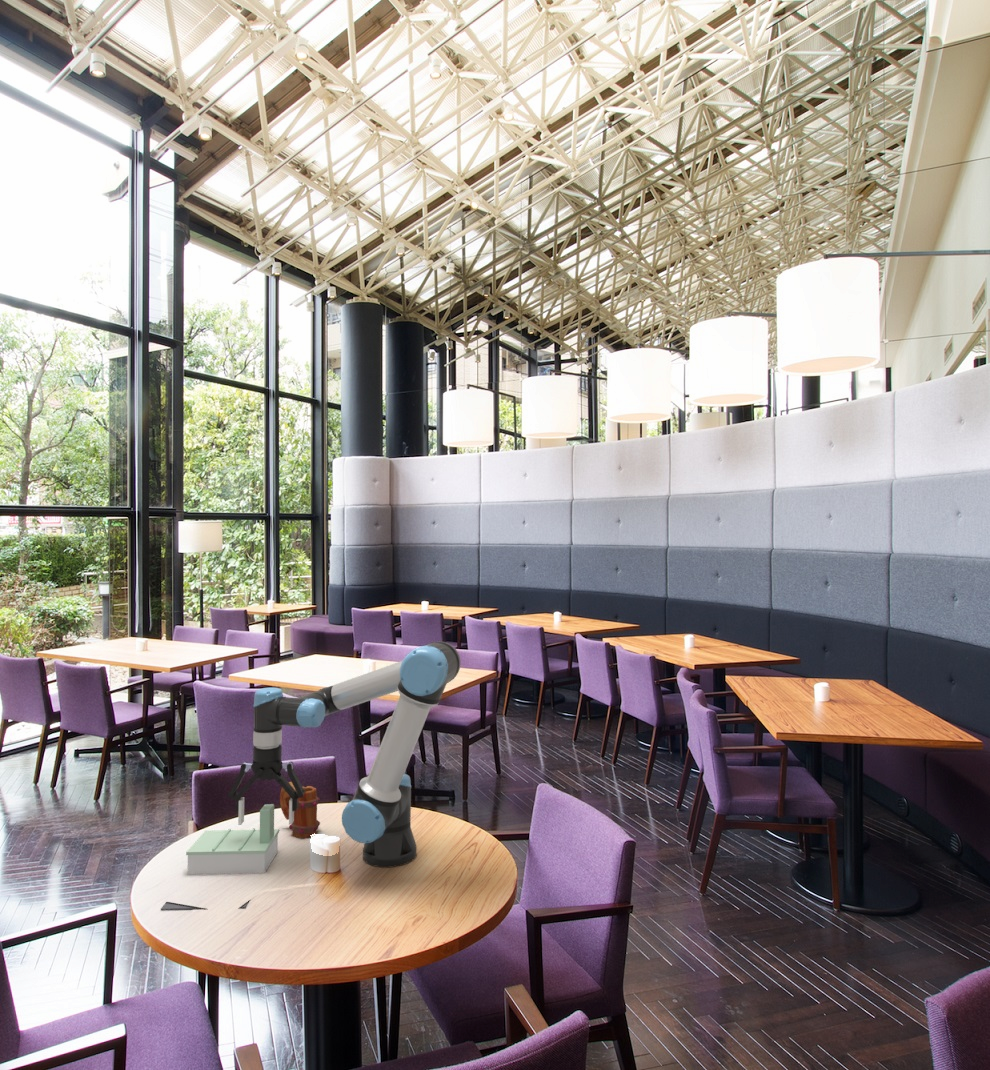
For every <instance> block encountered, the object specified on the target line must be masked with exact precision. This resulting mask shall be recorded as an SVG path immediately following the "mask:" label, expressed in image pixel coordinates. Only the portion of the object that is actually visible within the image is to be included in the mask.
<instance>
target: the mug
mask: <svg viewBox="0 0 990 1070" xmlns="http://www.w3.org/2000/svg"><path fill="white" fill-rule="evenodd" d="M288 782H289V784H290V785H291V786H292V787H293V788H294V785H293V783H292V781H288ZM302 787H303V789H304V791H305V794H304V795H303V797H302V798H298V808H297V810H296V811H294V821H293V823H292V824H291V825H289V826H288V828H289V829H290V830H291V832H292V836H293V837H296V838H298V839H299V838H300V839H302V838H303V839H306V838H307V839H308V838H311V837H310V835H312V834H314V833H316V834H317V832H318V829H319V826H321V822H320V821H319V820H318V813H317V812H318V804H319V802H320V800H321V799H320V797H318V796H317V795H318V794H317V788H316V787H314V786H311V785H307V786H306V787H305V786H303V785H302ZM294 790H295V788H294ZM295 791H296V790H295ZM290 799H291V797H290V796H289V795H288V793H287V792H286V791H285V790H284V789H283V787H282V786H281V789H280V793H279V804H280V810H281V812H282V814H283V816H284V817H285V820H286V821H287V820H288V821H289V800H290Z"/></svg>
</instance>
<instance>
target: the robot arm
mask: <svg viewBox="0 0 990 1070" xmlns="http://www.w3.org/2000/svg"><path fill="white" fill-rule="evenodd" d="M460 669H461V656H460V655H459V652H458V651H457V649H456V648H455V647H454V646H453V645H452V644H451V643H448V642H446V641H433V642H431V643H429V644H426V645H421V646H418V647H417V648H414V649H413V650H411V651H410V652H409V653H408V654H407V655H406V656H405V657H404V658H403V660H401V661H398V662H395V663H392V664H390V665H386V666H384V667H380V668H378V669H375V670H372V671H369V672H367V673H363V674H362V675H358V676H356V677H352V678H350V679H347V680H344V681H341V682H339V683H336V684H334V685H330V686H327V687H322V688H321V689H318V690H316V691H314V692H312V693H309V694H306V695H303V696H302V697H289V696H288V697H286V696H284V693H283V689H281V688H280V687H263V688H260V689H257V690H256V691H255V692H254V697H253V699H254V700H253V706H252V708H253V735H252V737H253V738H252V739H253V740H252V741H253V742H252V745H253V748H252V763H248V761H244V762H242V764H241V765H240V770H239V774H238V775H237V777H236V779H235V781H234V784H233V785H232V787H231V789H230V790H229V793H228V795H227V798H229V799H233V800H234V811H235V812H236V813H238V817H237V818H238V819H237V820H238V822H237V823H238V826H242V825H243V824H244V823H245V797H242V796H243V795H244V794H245V793H246V792H247V791H248V789H249V788H250V787H251V786H252V785H253V784H254V783H255V782H256V780H257V779H259V780H260V781H273V780H274V781H276V783H278V784H279V785H280V786H281V788H282V787H283V789H284V790H285V791H286V792H287V793H288V795H289V796H290V800H289V820H288V825H289V826H290V825H291V824H292V823H293V821H294V811H296V810H297V808H298V798H302V797H303V795H304V794H305V791H304V789H303V787H304V786H303V785H302V784H301V781H300V779H299V777H298V774H297V773H296V771H295V769H294V767H295V766H294V762H293V761H288V762H286V763H283V762H282V745H281V744H282V743H283V741H282V739H283V726H289V727H301V728H304V729H305V728H306V729H308V728H318V727H320V726H321V725H322V723H323V722H324V719H325V717H326V716H329V715H331V714H335V713H338V712H340V711H343V710H345V709H349V708H351V707H355V706H358V705H361V704H364V703H366V702H370V701H373V700H376V699H378V698H382V697H384V696H387V695H390V694H393V693H395V692H398V693H399V694H398V695H399V698H398V699H397V703H396V705H395V707H394V710H393V713H392V715H391V719H390V721H389V723H388V725H387V728H386V730H385V733H384V735H383V738H382V740H381V742H380V745H379V748H378V750H377V753H376V755H375V758H374V761H373V764H372V766H371V769H370V771H369V773H368V775H367V776H365V777H363V778H362V777H361V779H360V781H359V783H358V785H357V788H356V790H355V793H354V794H353V798H352V799H351V801H349V802H347V804H346V805H345V807H344V809H343V810H342V814H341V822H342V823H341V825H342V827H343V829H344V831H345V833H346V835H348V837H349V838H350V839H352V840H354V842H357V843H360V844H363V848H362V860H363V862H365V863H366V864H368V865H370V866H374V867H377V868H378V867H381V868H392V867H393V868H394V867H398V866H403V865H407V864H409V863H411V862H412V861H414V860H415V859H416V857H417V855H418V854H417V852H418V851H417V850H418V848H417V847H418V846H417V843H416V841H415V837H414V833H413V831H412V827H411V823H412V822H411V820H412V819H411V815H412V813H411V809H412V808H411V807H412V802H411V801H412V798H411V797H412V790H411V789H412V785H411V783H412V781H411V777H410V775H408V774H407V773H405V772H406V770H407V768H408V765H409V763H410V760H411V757H412V755H413V754H414V753H413V752H414V750H415V748H416V746H417V745H416V744H417V743H418V740H419V737H420V735H421V733H422V730H423V728H424V726H425V722H426V720H427V717H428V715H429V713H430V710H431V708H433V707H435V706H437V705H439V703H440V701H441V698H442V695H443V693H444V691H445V688H446V686H447V685H448V683H450V682H452V681H453V680H454V679H455V678H456V677H457V675H458V674H459V672H460ZM250 769H251V771H252V773H254V774H253V776H252V777H251V778H250V779H249V780H248V781H247V782H246V784H245V785H244V786H243V787H242V788H241V789H240V790H239V791H238V788H239V786H240V785H241V784H242V782H243V779H244V777H245V775H246V773H247V772H249V770H250ZM283 769H284V771H285V772H287V776H288V777H289V779H290V781H288V780H287V779H286V778H285V776H284V774H283V773H282V772H281V771H282V770H283ZM289 782H292V783H293V785H294V788H295V790H296V791H295V790H294V788H293V787H292V786H291V785H290V784H289ZM302 786H303V787H302ZM237 791H238V792H237Z"/></svg>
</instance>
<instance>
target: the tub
mask: <svg viewBox="0 0 990 1070" xmlns="http://www.w3.org/2000/svg"><path fill="white" fill-rule="evenodd" d="M278 835H279V834H278ZM278 835H277V836H276V838H275V839H274V841H273V843H272V844H271V846H270V847H269V849H268V850H267V852H266V854H221V855H187V876H192V875H193V876H194V875H195V876H196V875H199V876H200V875H231V874H233V875H234V874H236V875H238V874H243V875H244V874H245V875H247V874H265V873H266V872H267V870H268V868H269V867H270V865H271V863H272V862H273V859H274V858H275V856H276V855H277V854H278V849H279V846H278V843H279V841H278Z"/></svg>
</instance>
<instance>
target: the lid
mask: <svg viewBox="0 0 990 1070" xmlns="http://www.w3.org/2000/svg"><path fill="white" fill-rule="evenodd" d="M279 829H280V828H279ZM279 829H275V803H271V804H270V803H269V804H268V803H267V804H264V805H263V806H262V807H261V809H259V829H256V828H252V829H231V828H228V829H226V830H205V831H204V832H202V834H201V835H200V836H199V837H198V838H197V839H196V841H195V842H194V843H193V844H192V845H191V846H190V847H189V848H188V849H187V851H186V854H185V856H188V855H221V854H266V852H267V850H268V849H269V847H270V846H271V844H272V843H273V841H274V839H275V838H276V836H277V835H279V833H280V830H279Z"/></svg>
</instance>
